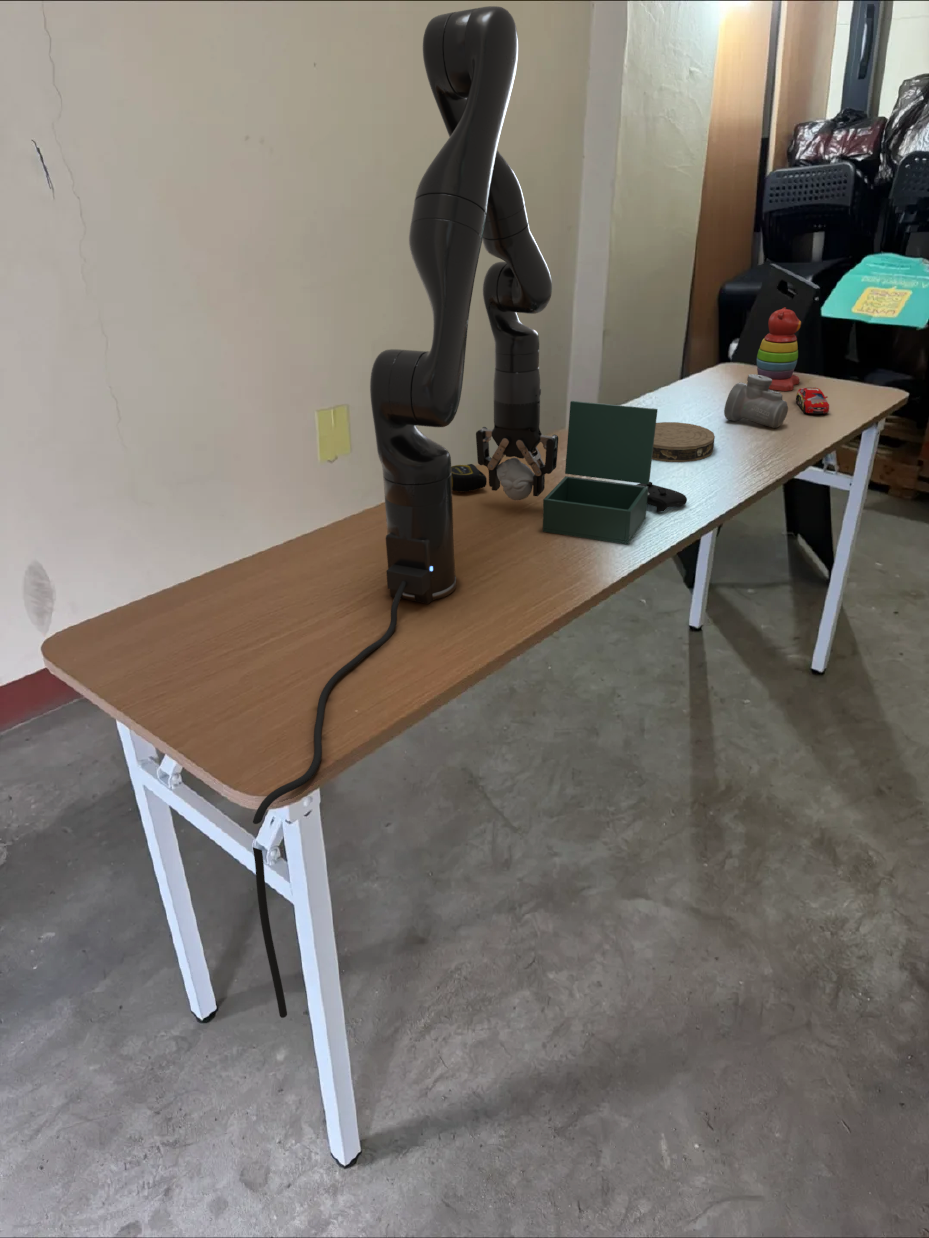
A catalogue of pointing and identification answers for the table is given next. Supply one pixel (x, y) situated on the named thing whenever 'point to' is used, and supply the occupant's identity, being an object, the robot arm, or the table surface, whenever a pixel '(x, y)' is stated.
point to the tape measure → (467, 478)
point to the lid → (610, 441)
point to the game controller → (663, 497)
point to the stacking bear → (780, 350)
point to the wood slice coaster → (682, 442)
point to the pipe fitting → (756, 402)
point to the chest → (595, 509)
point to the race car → (812, 401)
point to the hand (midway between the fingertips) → (516, 491)
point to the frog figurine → (515, 478)
